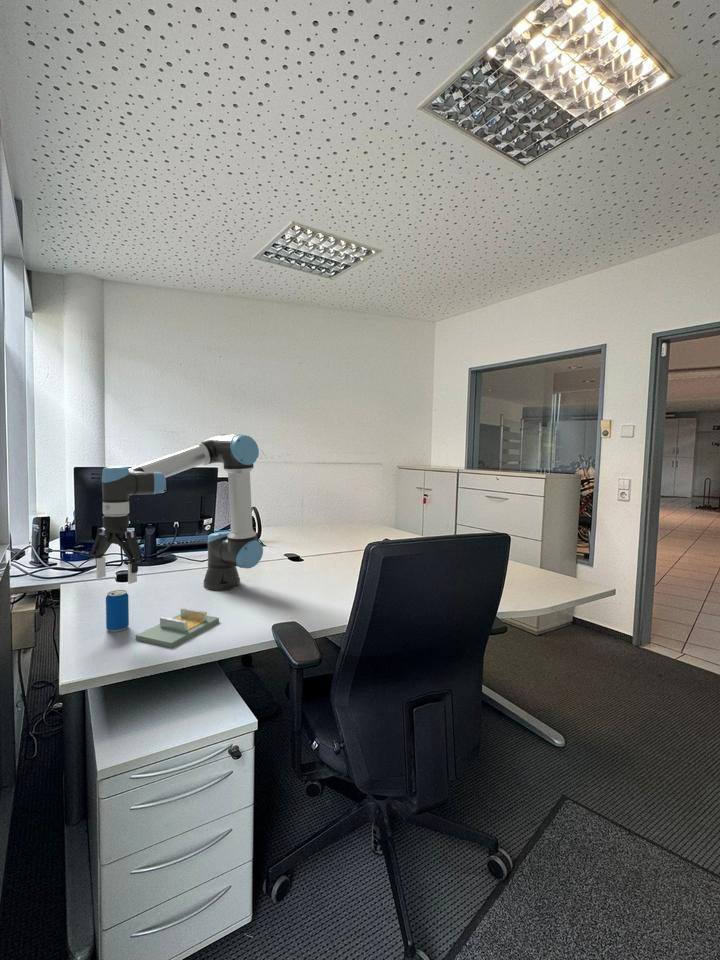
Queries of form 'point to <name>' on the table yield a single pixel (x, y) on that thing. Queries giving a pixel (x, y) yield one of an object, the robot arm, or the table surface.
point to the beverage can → (117, 610)
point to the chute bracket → (184, 620)
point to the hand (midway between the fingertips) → (116, 580)
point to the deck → (173, 633)
